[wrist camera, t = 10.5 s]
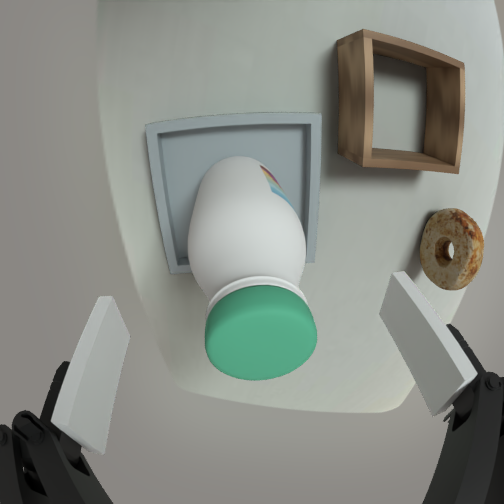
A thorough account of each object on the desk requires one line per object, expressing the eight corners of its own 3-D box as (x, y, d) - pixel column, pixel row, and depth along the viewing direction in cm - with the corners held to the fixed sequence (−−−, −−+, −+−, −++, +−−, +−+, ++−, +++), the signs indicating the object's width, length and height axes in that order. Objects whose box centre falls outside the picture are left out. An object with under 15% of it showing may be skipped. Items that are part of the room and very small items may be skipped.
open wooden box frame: (336, 40, 21) (362, 28, 16) (430, 63, 22) (464, 63, 17) (337, 153, 27) (362, 166, 22) (427, 159, 28) (458, 174, 23)
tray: (151, 122, 24) (145, 124, 22) (313, 112, 25) (321, 113, 23) (173, 262, 32) (170, 274, 30) (308, 251, 33) (314, 262, 31)
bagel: (430, 196, 31) (480, 230, 22) (447, 199, 31) (495, 232, 22) (408, 263, 36) (446, 307, 27) (426, 263, 36) (463, 304, 28)
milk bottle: (196, 223, 29) (169, 396, 12) (204, 150, 25) (159, 261, 8) (268, 230, 30) (320, 397, 13) (282, 160, 27) (386, 279, 9)
